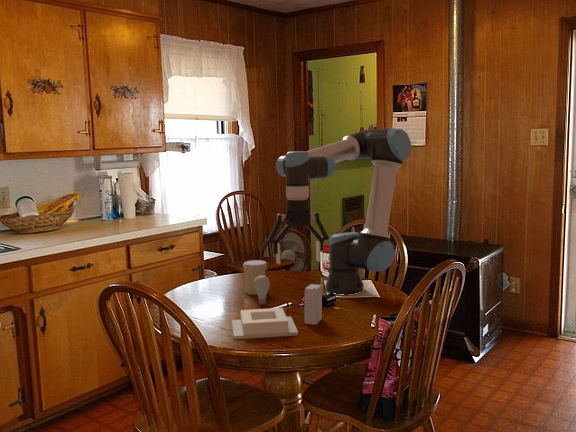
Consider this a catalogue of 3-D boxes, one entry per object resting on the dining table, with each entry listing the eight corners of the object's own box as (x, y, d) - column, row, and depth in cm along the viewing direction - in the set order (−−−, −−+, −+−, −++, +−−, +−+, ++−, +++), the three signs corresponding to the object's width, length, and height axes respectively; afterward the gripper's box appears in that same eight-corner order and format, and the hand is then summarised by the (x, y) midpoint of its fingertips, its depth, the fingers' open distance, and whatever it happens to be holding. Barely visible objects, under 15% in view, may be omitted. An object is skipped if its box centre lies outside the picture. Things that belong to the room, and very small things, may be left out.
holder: (291, 319, 198) (290, 306, 198) (298, 335, 183) (298, 321, 182) (231, 322, 196) (231, 309, 195) (233, 339, 180) (233, 325, 179)
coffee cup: (271, 292, 232) (271, 262, 231) (251, 296, 227) (250, 266, 225) (259, 287, 240) (258, 259, 238) (239, 291, 235) (238, 262, 233)
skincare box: (310, 318, 199) (309, 283, 197) (322, 319, 197) (322, 284, 196) (303, 323, 193) (303, 288, 192) (316, 325, 192) (316, 289, 190)
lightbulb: (268, 307, 212) (267, 277, 211) (252, 306, 214) (251, 277, 212) (272, 302, 218) (271, 273, 217) (256, 302, 220) (255, 273, 218)
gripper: (331, 196, 198) (331, 257, 201) (258, 198, 193) (259, 262, 196) (337, 198, 191) (337, 262, 194) (261, 201, 186) (263, 266, 189)
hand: (298, 262), depth 195 cm, fingers open, 13 cm apart
